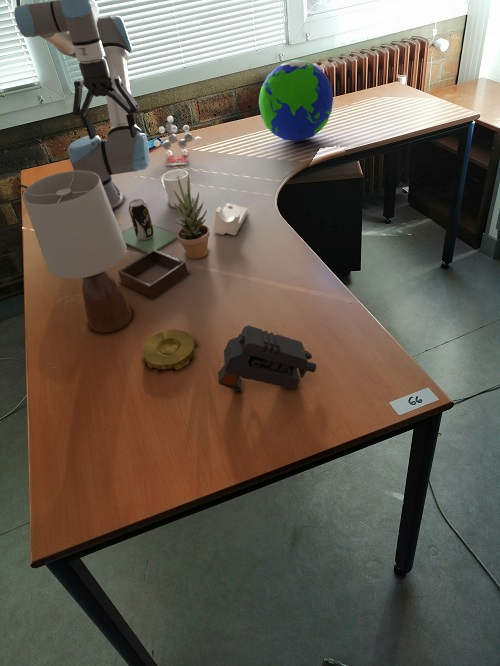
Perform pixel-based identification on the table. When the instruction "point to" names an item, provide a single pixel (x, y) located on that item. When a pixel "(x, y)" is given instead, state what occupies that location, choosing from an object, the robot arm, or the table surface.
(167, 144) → the molecule model
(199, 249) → the potted plant
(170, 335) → the yellow flat disc
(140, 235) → the beverage can
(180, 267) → the holder
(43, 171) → the table surface
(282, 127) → the globe
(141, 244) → the mat
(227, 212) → the bracket
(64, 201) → the lamp
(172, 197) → the mug
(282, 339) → the tool
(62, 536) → the table surface
